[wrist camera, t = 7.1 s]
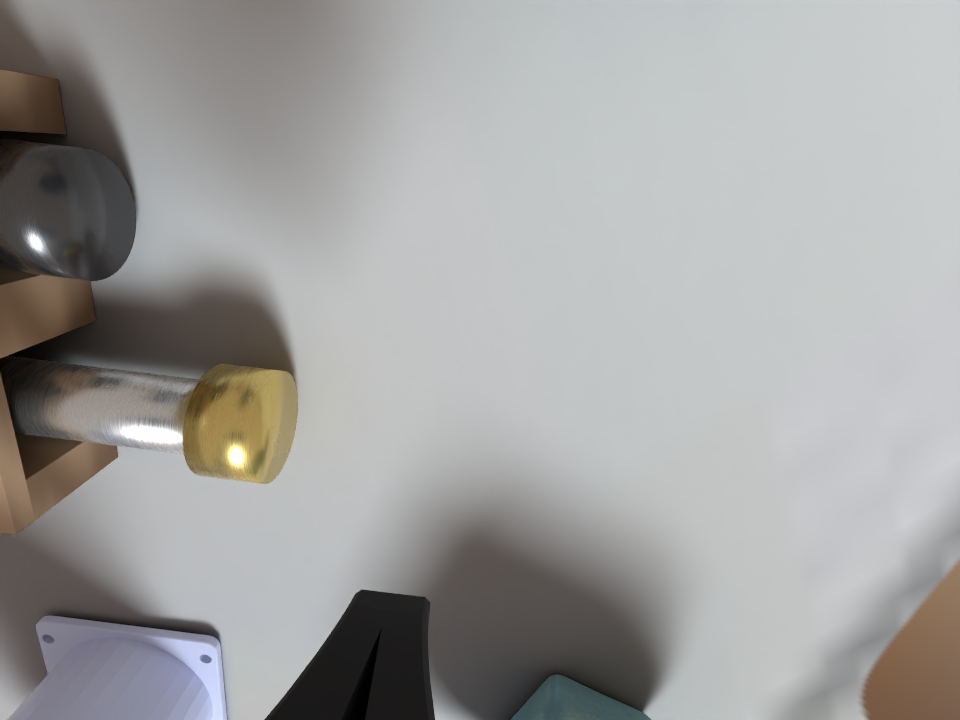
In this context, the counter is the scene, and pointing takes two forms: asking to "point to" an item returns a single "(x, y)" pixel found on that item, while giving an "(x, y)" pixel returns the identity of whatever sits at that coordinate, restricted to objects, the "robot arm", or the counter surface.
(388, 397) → the counter surface
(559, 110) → the counter surface
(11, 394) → the plunger
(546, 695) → the flower pot
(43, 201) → the plunger
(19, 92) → the catch block
